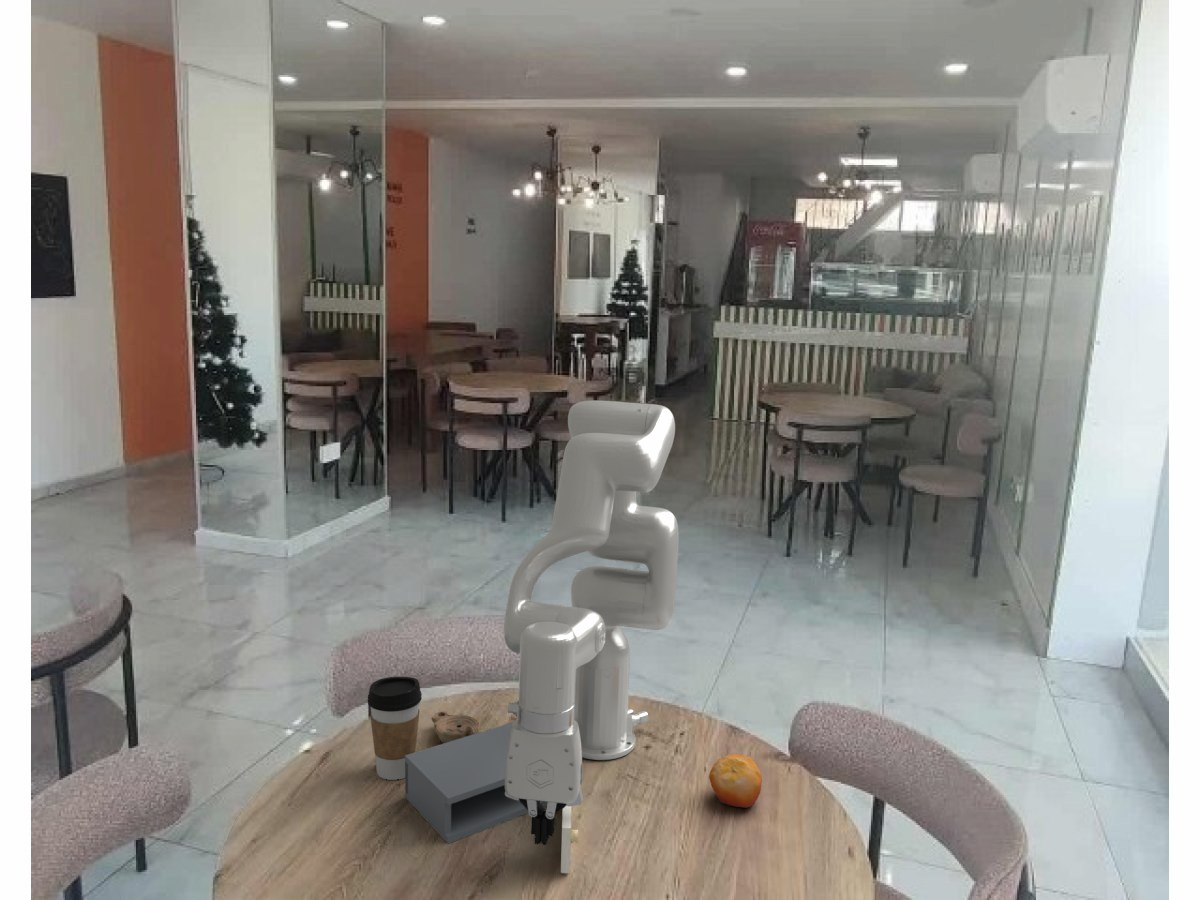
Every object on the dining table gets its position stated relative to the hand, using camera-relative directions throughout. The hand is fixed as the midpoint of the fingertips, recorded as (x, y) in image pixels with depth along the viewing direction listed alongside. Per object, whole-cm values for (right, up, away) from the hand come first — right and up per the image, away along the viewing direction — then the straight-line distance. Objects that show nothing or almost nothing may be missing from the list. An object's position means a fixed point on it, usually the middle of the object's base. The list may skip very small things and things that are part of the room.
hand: (542, 838), depth 124 cm
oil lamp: (-17, +3, +32) cm, 36 cm away
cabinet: (-10, 0, +14) cm, 17 cm away
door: (+4, -2, +6) cm, 7 cm away
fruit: (+29, -1, +16) cm, 33 cm away
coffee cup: (-25, +2, +21) cm, 33 cm away
